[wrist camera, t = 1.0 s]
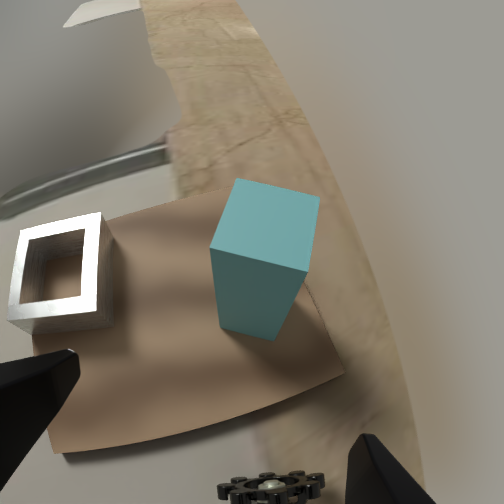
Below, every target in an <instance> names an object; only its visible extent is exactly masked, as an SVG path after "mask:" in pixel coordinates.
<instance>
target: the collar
mask: <svg viewBox="0 0 504 504" xmlns="http://www.w3.org/2000/svg"><path fill="white" fill-rule="evenodd" d="M113 242H114V237H113V235H112V233H111V231H110V229H109V227H108V225H107V223H106V222H105V220H104V218H103V216H102V214H101V213H96V214H91V215H86V216H82V217H77V218H72V219H68V220H63V221H59V222H54V223H50V224H45V225H41V226H37V227H33V228H29V229H25V230H21V233H20V237H19V242H18V247H17V252H16V257H15V262H14V268H13V274H12V281H11V288H10V295H9V304H8V314H7V321H9V322H10V323H12V324H13V325H15V326H17V327H18V328H20V329H22V330H23V331H25V332H27V333H28V334H30V335H33V334H46V333H58V332H69V331H79V330H89V329H98V328H107V327H114V317H113ZM78 254H83V267H82V286H81V296H79V297H72V298H64V299H57V300H49V301H43V290H44V280H45V271H46V263H47V260H51V259H56V258H62V257H67V256H73V255H78Z"/></svg>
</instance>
